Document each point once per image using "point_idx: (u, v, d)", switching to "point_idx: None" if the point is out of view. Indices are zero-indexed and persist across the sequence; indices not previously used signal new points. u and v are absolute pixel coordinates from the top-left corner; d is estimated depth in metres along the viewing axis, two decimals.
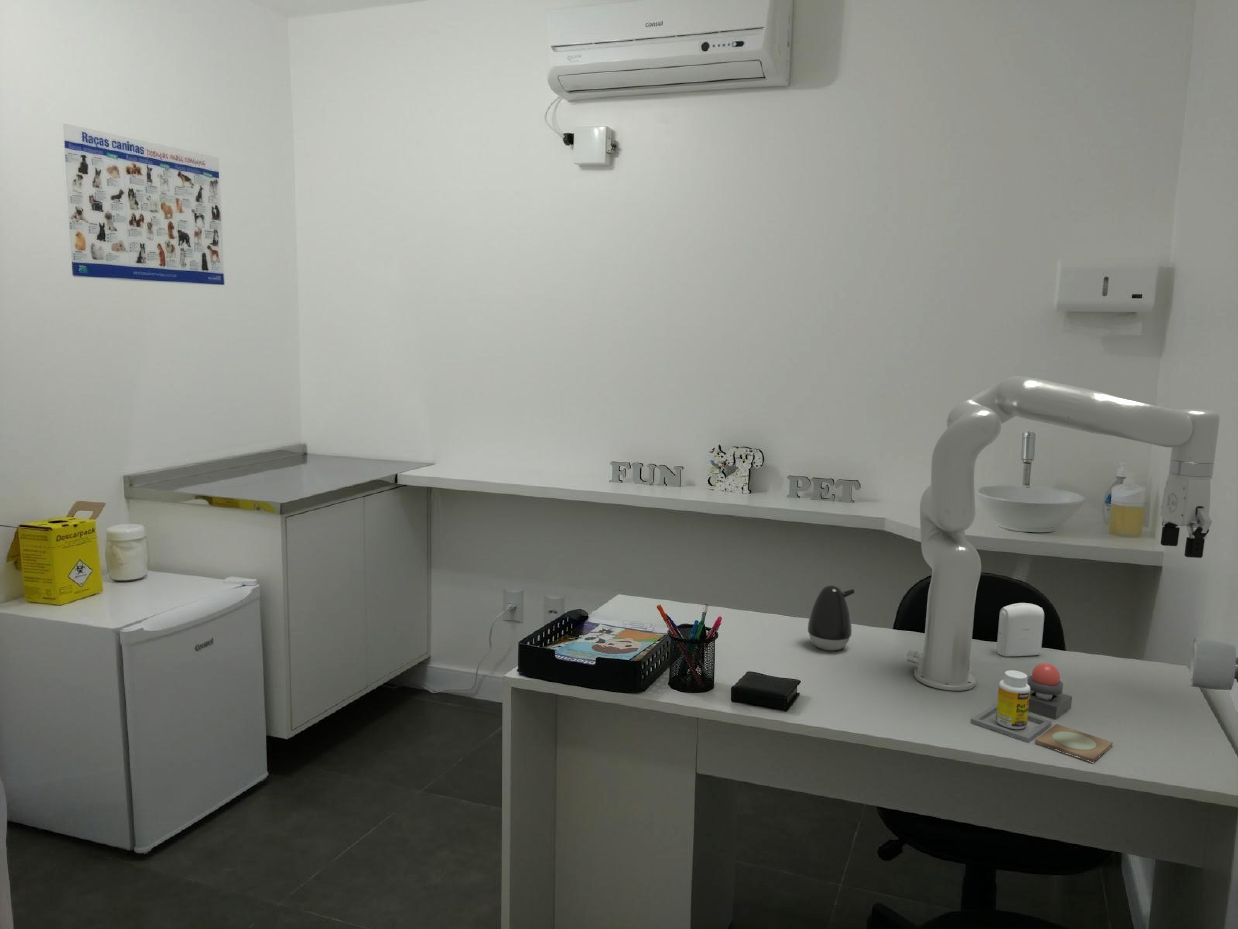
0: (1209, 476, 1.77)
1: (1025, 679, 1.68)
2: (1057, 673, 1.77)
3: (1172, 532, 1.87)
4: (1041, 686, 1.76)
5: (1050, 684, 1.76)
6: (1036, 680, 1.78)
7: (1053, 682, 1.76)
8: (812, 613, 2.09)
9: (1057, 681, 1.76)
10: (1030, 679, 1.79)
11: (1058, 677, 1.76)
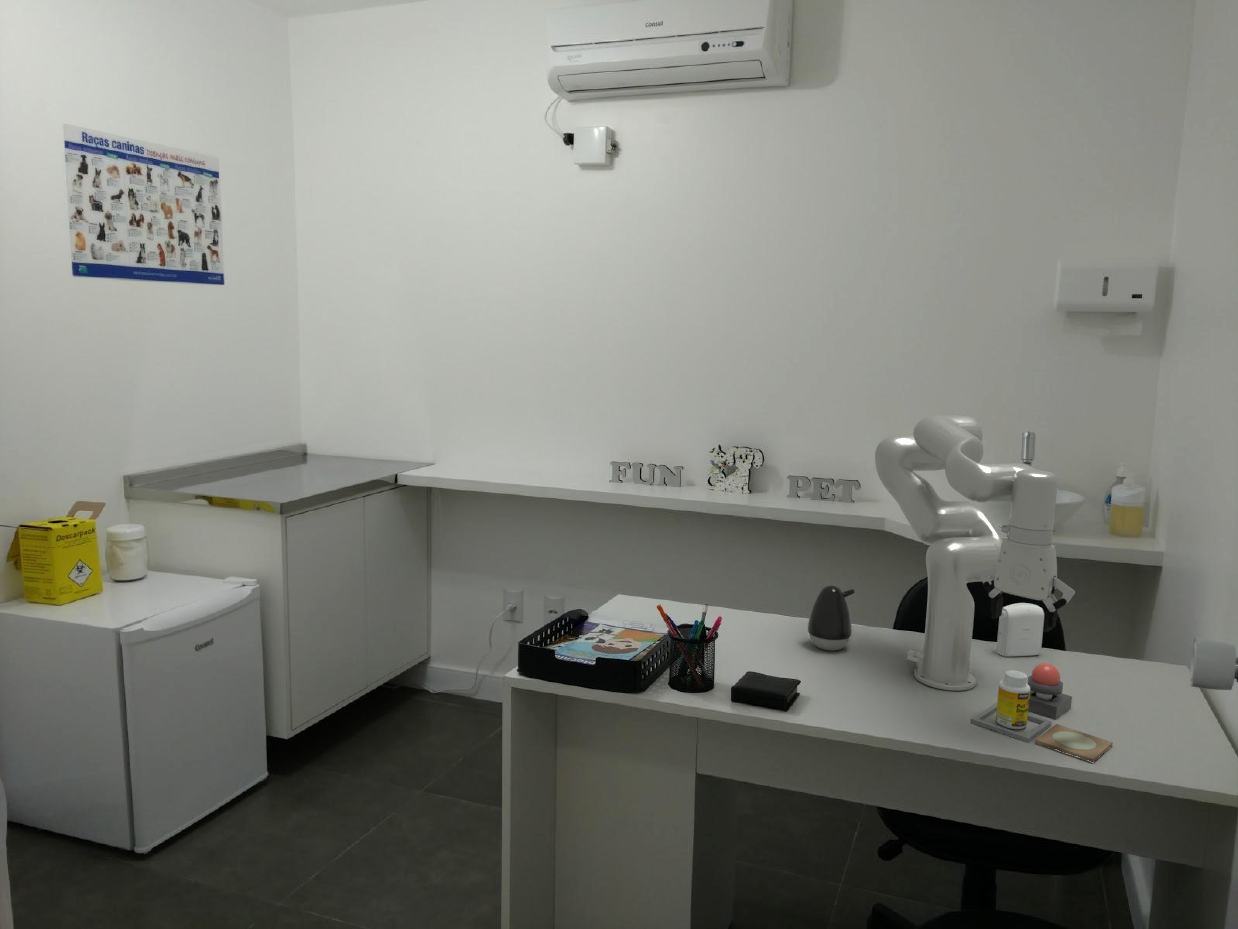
0: None
1: (1025, 679, 1.68)
2: (1057, 673, 1.77)
3: (999, 602, 1.71)
4: (1041, 686, 1.76)
5: (1050, 684, 1.76)
6: (1036, 680, 1.78)
7: (1053, 682, 1.76)
8: (812, 613, 2.09)
9: (1057, 681, 1.76)
10: (1030, 679, 1.79)
11: (1058, 677, 1.76)
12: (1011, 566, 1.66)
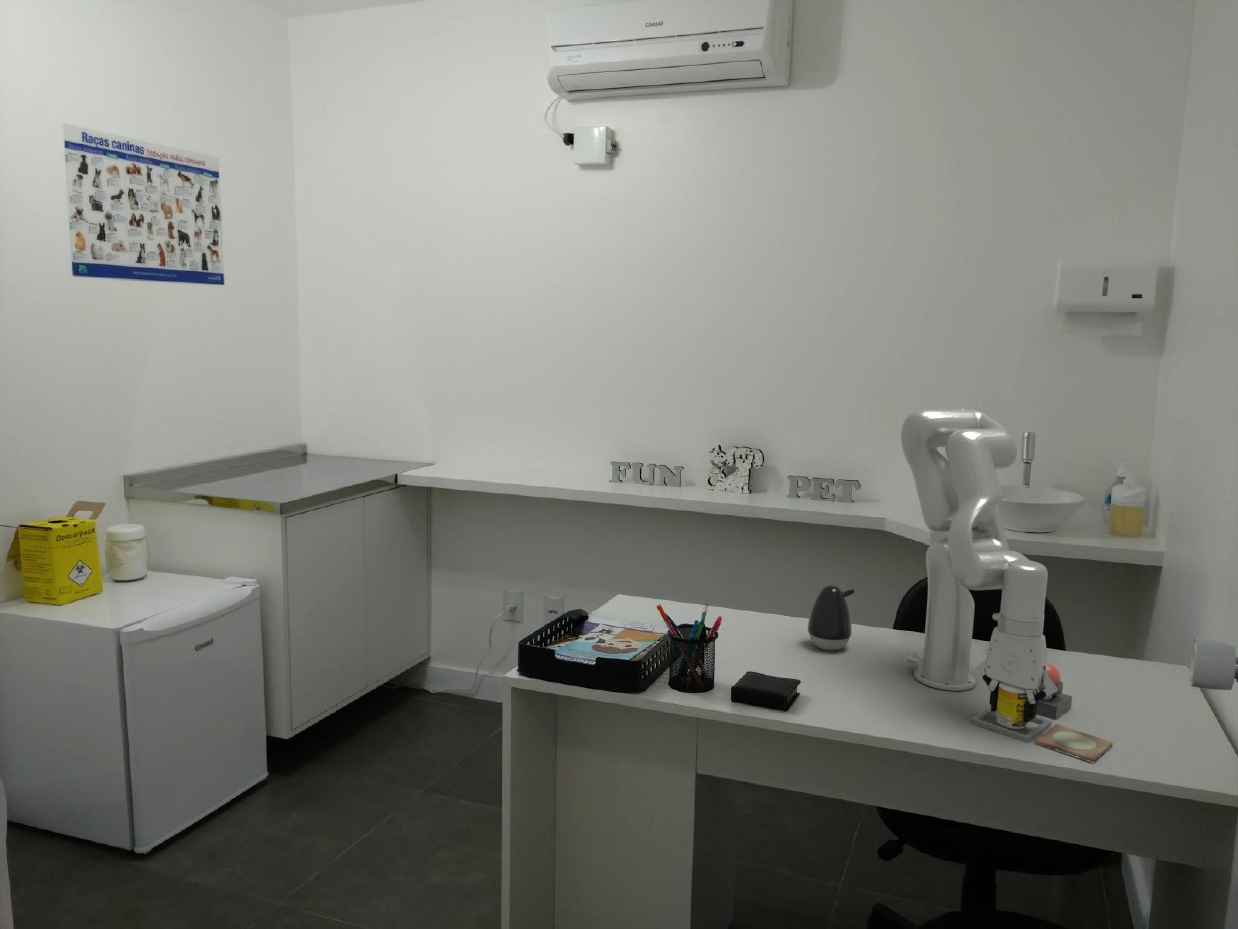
0: None
1: None
2: (1057, 673, 1.77)
3: None
4: (1041, 686, 1.76)
5: None
6: None
7: None
8: (812, 613, 2.09)
9: (1057, 681, 1.76)
10: None
11: (1058, 677, 1.76)
12: (1002, 655, 1.68)
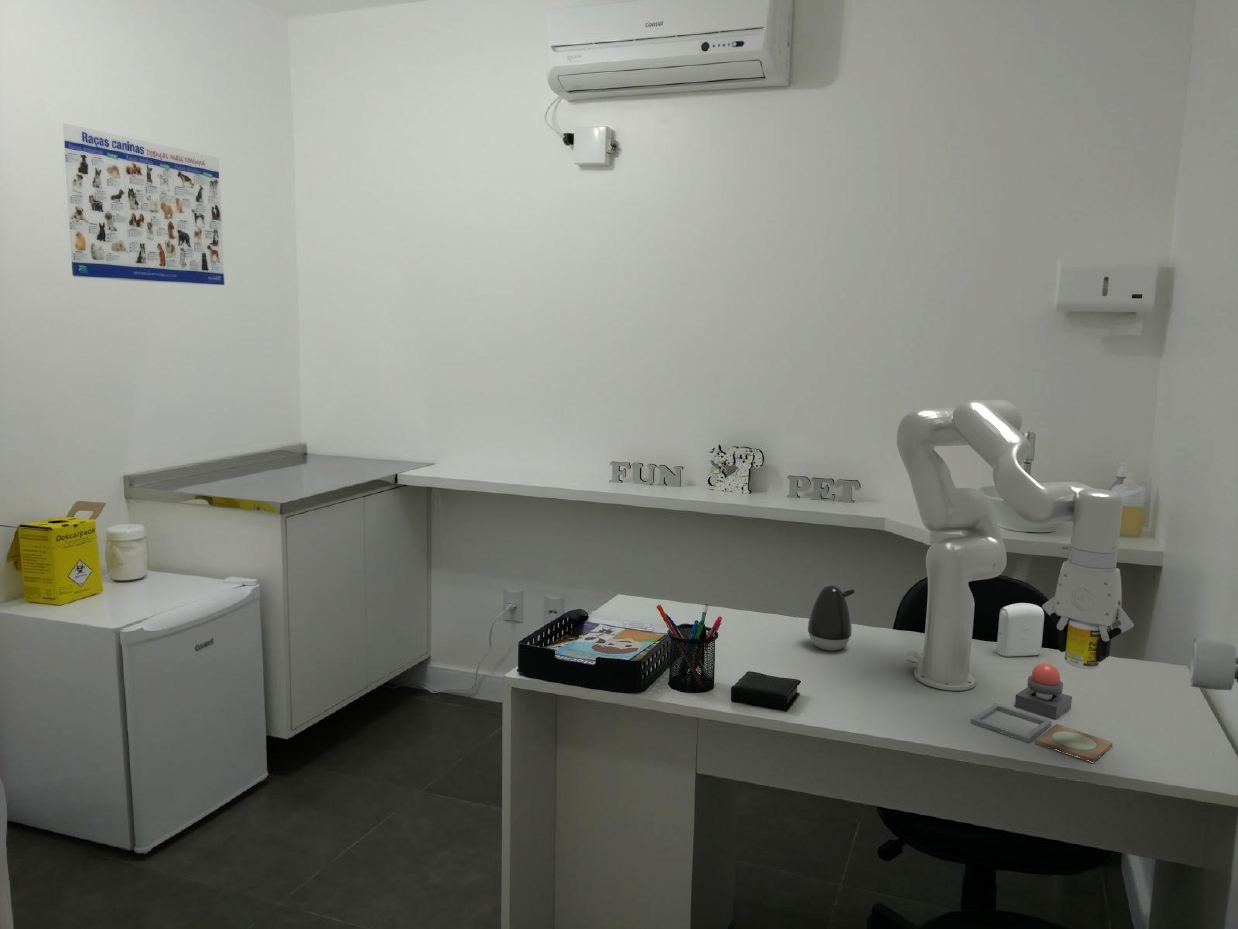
0: None
1: None
2: (1057, 673, 1.77)
3: None
4: (1041, 686, 1.76)
5: (1050, 684, 1.76)
6: (1036, 680, 1.78)
7: (1053, 682, 1.76)
8: (812, 613, 2.09)
9: (1057, 681, 1.76)
10: (1030, 679, 1.79)
11: (1058, 677, 1.76)
12: (1073, 590, 1.58)
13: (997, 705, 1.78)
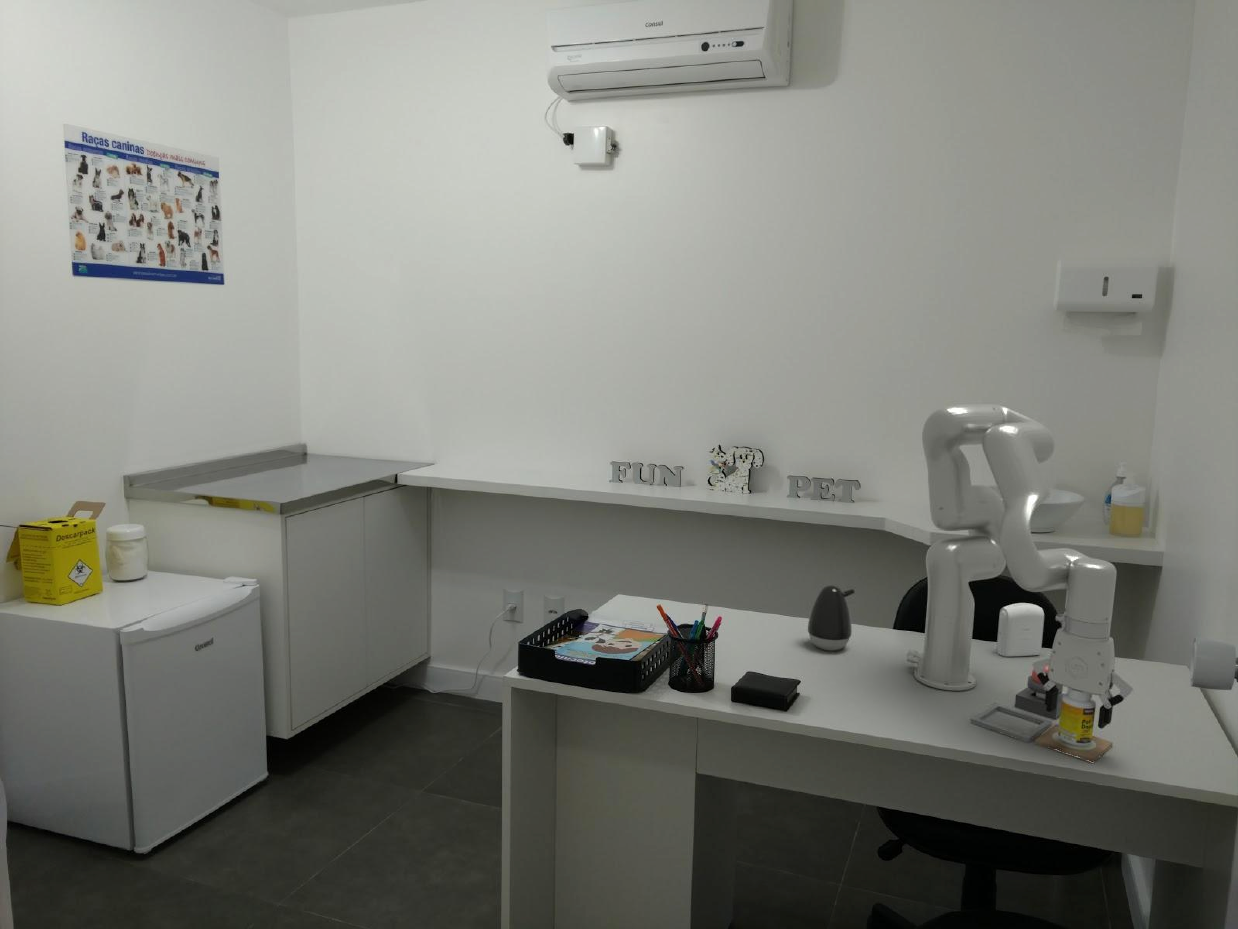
0: None
1: None
2: None
3: (1055, 695, 1.65)
4: (1041, 686, 1.76)
5: None
6: (1036, 680, 1.78)
7: None
8: (812, 613, 2.09)
9: None
10: (1030, 679, 1.79)
11: None
12: (1066, 658, 1.60)
13: (997, 705, 1.78)
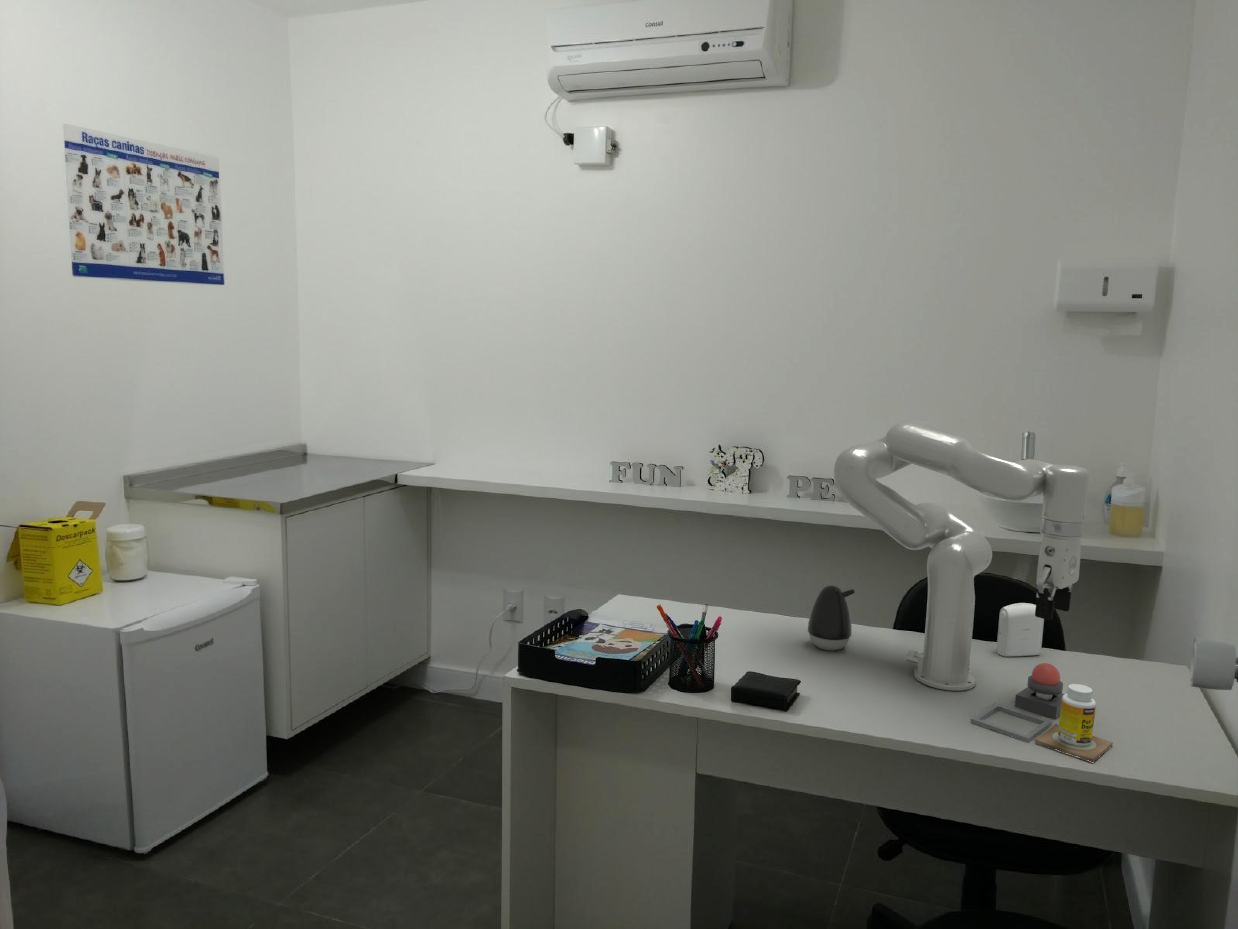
0: None
1: (1091, 693, 1.60)
2: (1057, 673, 1.77)
3: None
4: (1041, 686, 1.76)
5: (1050, 684, 1.76)
6: (1036, 680, 1.78)
7: (1053, 682, 1.76)
8: (812, 613, 2.09)
9: (1057, 681, 1.76)
10: (1030, 679, 1.79)
11: (1058, 677, 1.76)
12: (1069, 561, 1.71)
13: (997, 705, 1.78)
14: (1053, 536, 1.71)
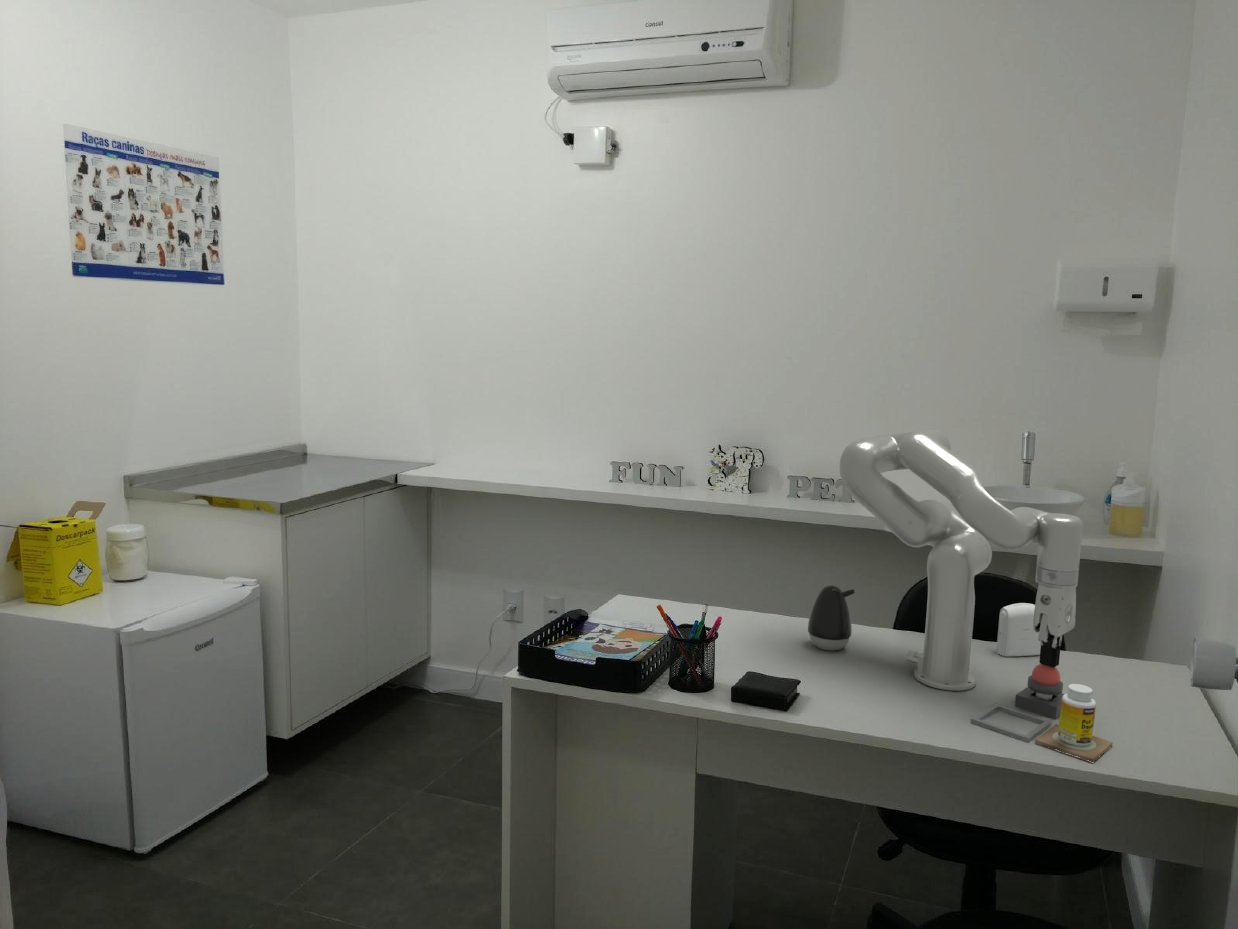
0: None
1: (1091, 693, 1.60)
2: (1057, 673, 1.77)
3: None
4: (1041, 686, 1.76)
5: (1050, 684, 1.76)
6: (1036, 680, 1.78)
7: (1053, 682, 1.76)
8: (812, 613, 2.09)
9: (1057, 681, 1.76)
10: (1030, 679, 1.79)
11: (1058, 677, 1.76)
12: (1065, 609, 1.73)
13: (997, 705, 1.78)
14: (1048, 585, 1.73)
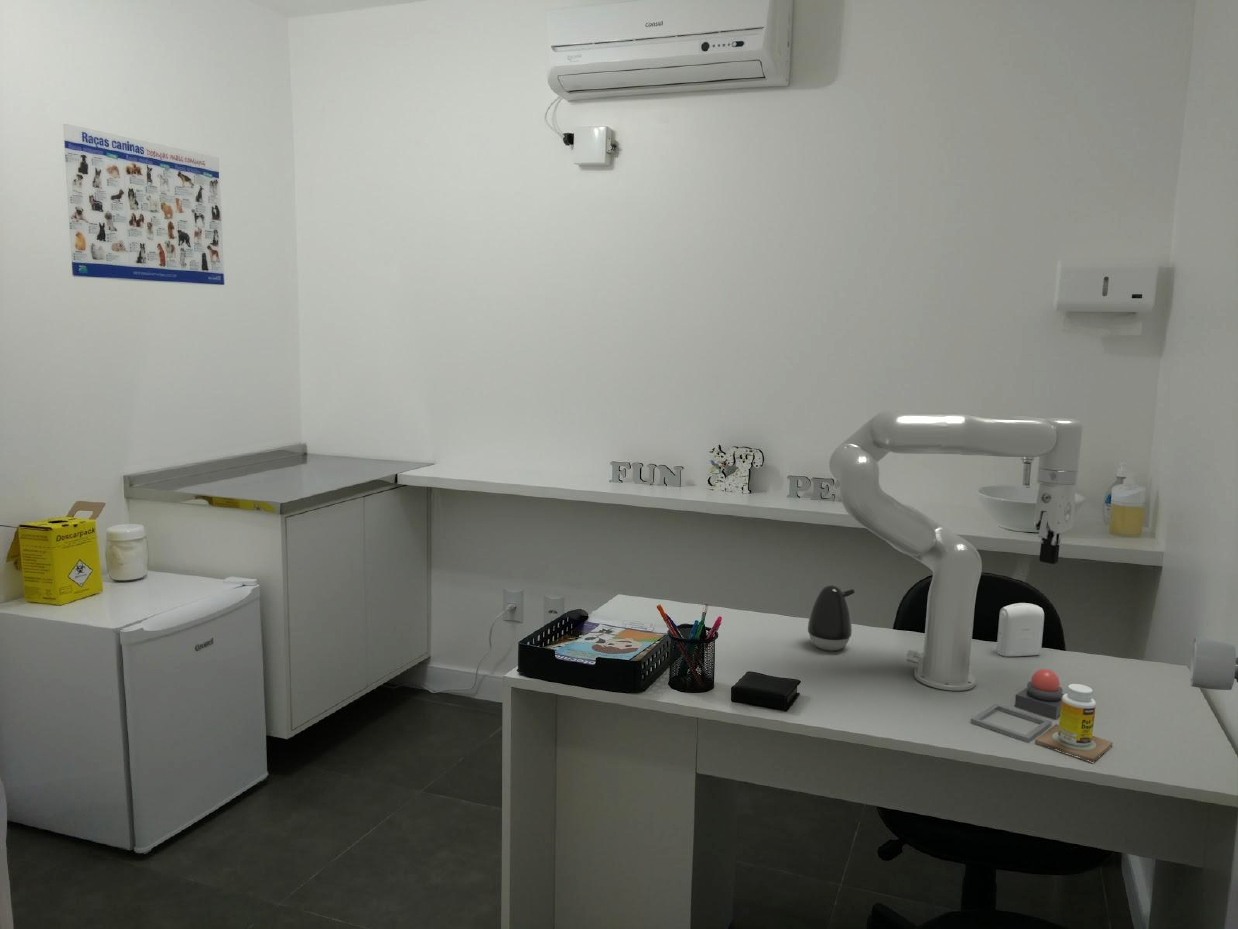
0: None
1: (1091, 693, 1.60)
2: (1056, 679, 1.77)
3: None
4: (1040, 692, 1.76)
5: (1049, 690, 1.76)
6: (1035, 686, 1.78)
7: (1052, 688, 1.76)
8: (812, 613, 2.09)
9: (1056, 687, 1.76)
10: (1029, 685, 1.79)
11: (1057, 683, 1.77)
12: (1064, 507, 1.83)
13: (997, 705, 1.78)
14: (1049, 484, 1.83)
